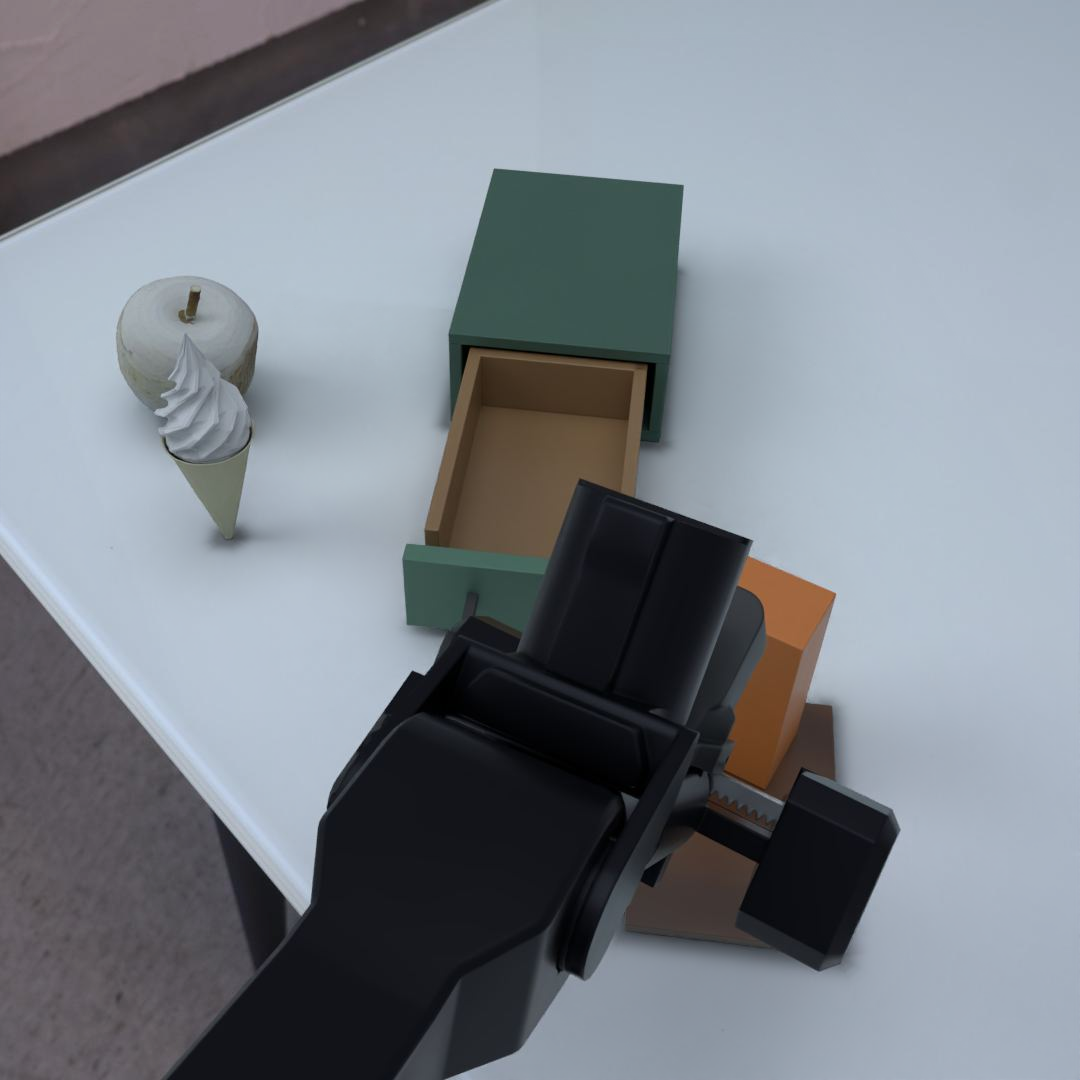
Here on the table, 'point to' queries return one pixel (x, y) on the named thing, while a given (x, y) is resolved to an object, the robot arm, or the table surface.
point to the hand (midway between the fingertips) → (691, 761)
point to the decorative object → (159, 329)
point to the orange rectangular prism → (777, 669)
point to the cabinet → (573, 275)
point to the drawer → (518, 478)
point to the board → (726, 854)
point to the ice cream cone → (207, 434)
